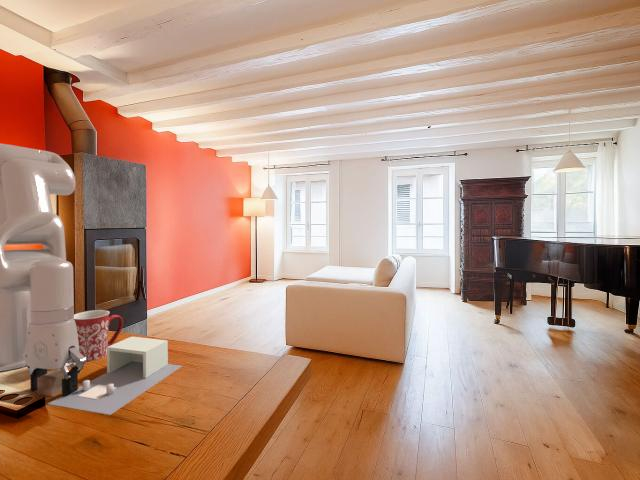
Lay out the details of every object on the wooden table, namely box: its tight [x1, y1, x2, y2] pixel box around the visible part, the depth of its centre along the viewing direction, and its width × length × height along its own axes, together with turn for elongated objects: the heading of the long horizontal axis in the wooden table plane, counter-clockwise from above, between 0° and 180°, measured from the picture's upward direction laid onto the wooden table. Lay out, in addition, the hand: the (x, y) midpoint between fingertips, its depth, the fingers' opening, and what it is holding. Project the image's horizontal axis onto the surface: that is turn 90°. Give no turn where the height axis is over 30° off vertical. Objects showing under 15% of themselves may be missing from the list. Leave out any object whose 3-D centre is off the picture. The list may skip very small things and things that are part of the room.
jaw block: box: [36, 369, 64, 397], centre depth 72 cm, size 4×4×5 cm
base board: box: [47, 361, 183, 416], centre depth 77 cm, size 16×23×3 cm
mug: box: [74, 309, 124, 362], centre depth 92 cm, size 13×9×14 cm
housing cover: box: [106, 336, 169, 378], centre depth 84 cm, size 12×8×7 cm
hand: (54, 390), depth 72 cm, fingers open, 8 cm apart
